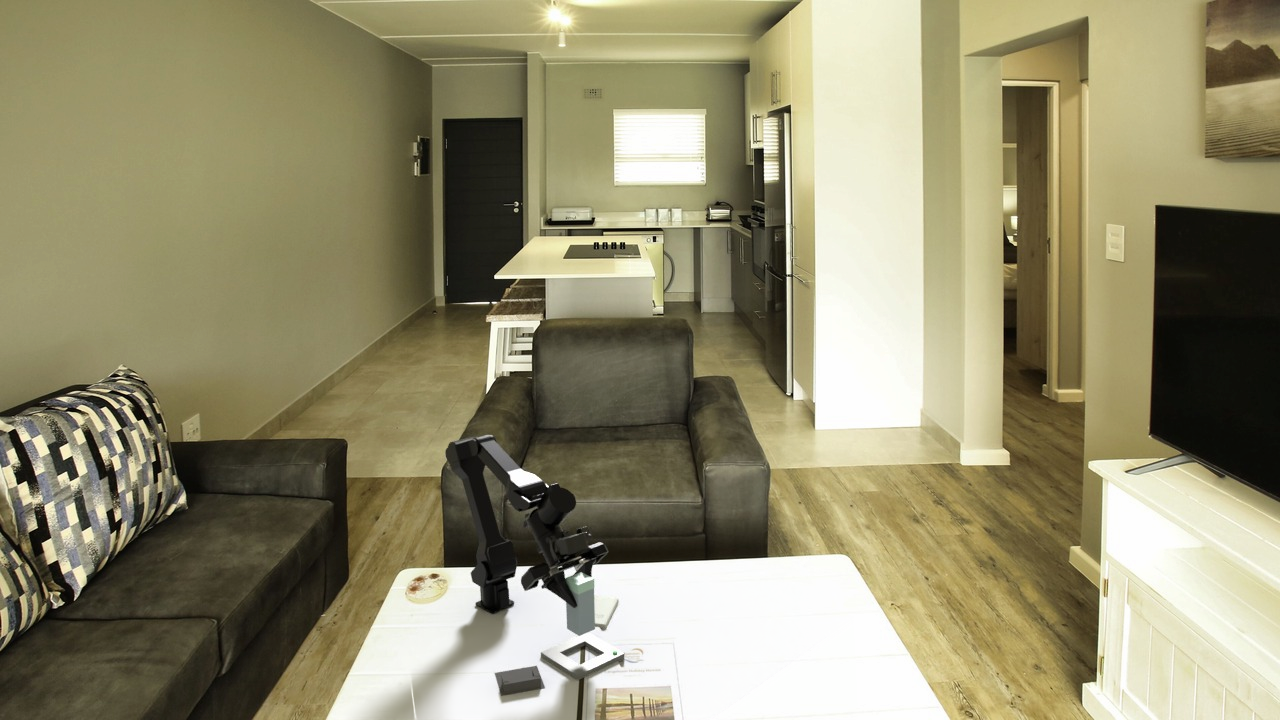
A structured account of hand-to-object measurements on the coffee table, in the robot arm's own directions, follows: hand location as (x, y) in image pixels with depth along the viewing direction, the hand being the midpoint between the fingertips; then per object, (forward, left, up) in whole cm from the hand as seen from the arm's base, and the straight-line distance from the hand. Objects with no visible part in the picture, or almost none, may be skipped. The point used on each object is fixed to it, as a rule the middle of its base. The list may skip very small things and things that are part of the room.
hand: (584, 603), depth 185 cm
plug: (-1, 0, -6) cm, 6 cm away
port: (-1, 0, -13) cm, 13 cm away
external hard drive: (-14, +16, -14) cm, 25 cm away
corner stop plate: (-4, -14, -13) cm, 19 cm away
